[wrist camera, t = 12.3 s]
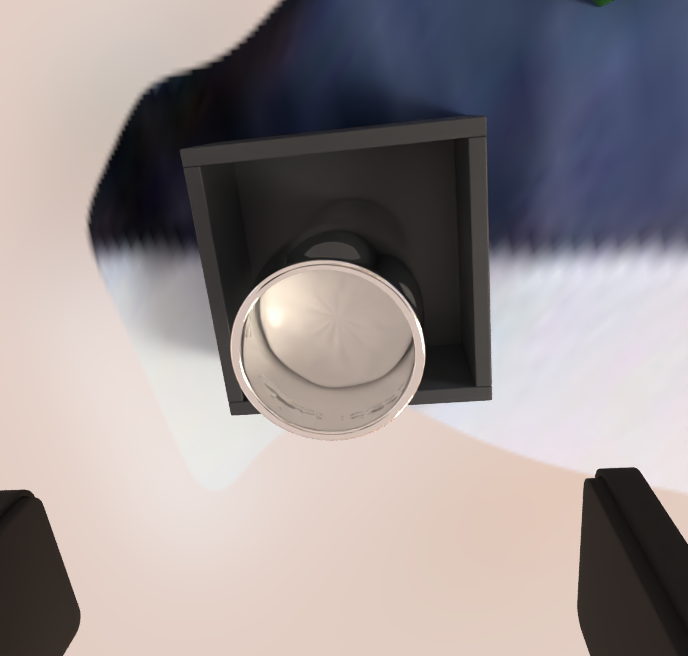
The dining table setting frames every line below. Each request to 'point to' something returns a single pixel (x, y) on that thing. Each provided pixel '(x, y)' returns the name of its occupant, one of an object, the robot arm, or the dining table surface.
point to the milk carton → (602, 2)
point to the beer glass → (333, 327)
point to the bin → (366, 185)
